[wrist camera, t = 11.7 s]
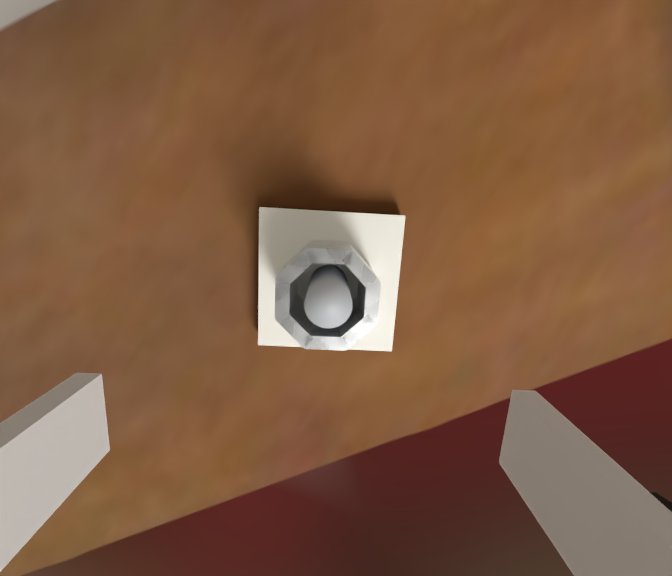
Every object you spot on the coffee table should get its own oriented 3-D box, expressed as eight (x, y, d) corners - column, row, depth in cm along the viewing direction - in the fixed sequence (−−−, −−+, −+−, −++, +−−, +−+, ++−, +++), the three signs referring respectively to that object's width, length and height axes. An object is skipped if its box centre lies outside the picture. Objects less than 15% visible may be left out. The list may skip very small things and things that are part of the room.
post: (261, 338, 32) (237, 383, 24) (262, 207, 30) (236, 207, 21) (388, 344, 33) (408, 391, 25) (401, 215, 30) (428, 218, 22)
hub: (284, 320, 31) (274, 347, 25) (287, 237, 29) (276, 245, 23) (366, 324, 31) (375, 352, 25) (373, 242, 29) (383, 251, 23)
